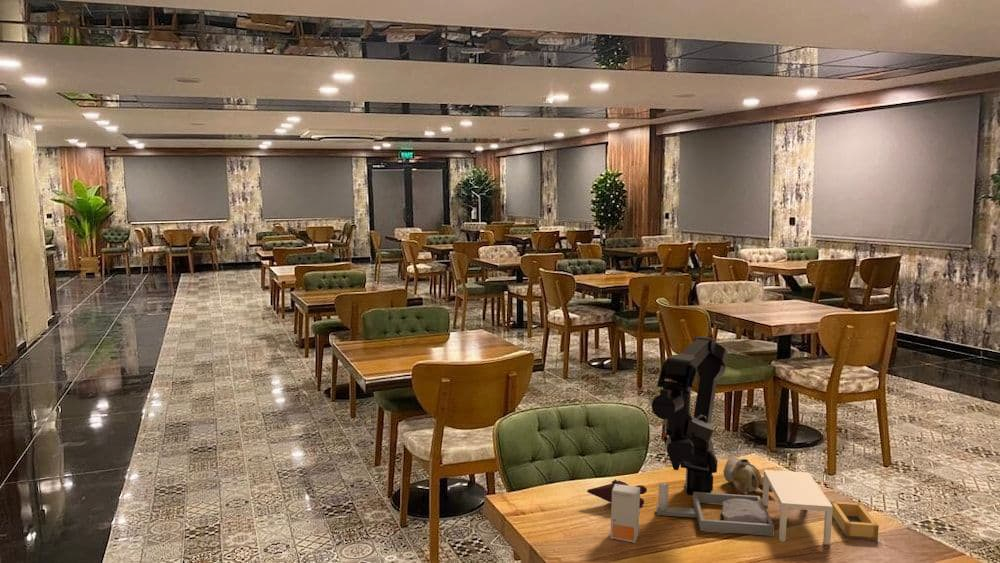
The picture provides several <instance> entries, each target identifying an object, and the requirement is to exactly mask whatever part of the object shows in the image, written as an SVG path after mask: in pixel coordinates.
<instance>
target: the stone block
mask: <svg viewBox="0 0 1000 563" xmlns="http://www.w3.org/2000/svg"><path fill="white" fill-rule="evenodd" d="M721 514H722V517H723V521H735V522H749V523H763V524H767V515H766V512H765V511H764V510H763V509H762V507H761V504H760V501H752V500H746V499H737V498H735V499H731V500H727V501H724V502H723V504H722V509H721Z"/></svg>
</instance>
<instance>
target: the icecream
mask: <svg viewBox="0 0 1000 563" xmlns="http://www.w3.org/2000/svg"><path fill="white" fill-rule="evenodd" d="M615 484H620V485H629V484H628V483H626V482H624V481H622V480H617V479H614V480H612V481H611V483H609V484H604V485H601V486H597V487H593V488H589V489H587V490H586V493H588V494H590V495H593V496H596V497H598V498H599V499H602V500H604V501H607V502H609V503H610V504H611V505H612V490H613V488H614V485H615ZM634 487H640V495H645V493H647V492H648V488H647V487H646V486H645V485H640V484H639V485H638V484H637V485H636V486H634ZM644 504H645V500H644V499H643V497H640V505H639V506H643V505H644Z"/></svg>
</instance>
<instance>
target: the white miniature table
mask: <svg viewBox="0 0 1000 563" xmlns="http://www.w3.org/2000/svg"><path fill="white" fill-rule="evenodd" d="M769 485H770V487H771V489H772V491H773V492H772V493H773V494H774V496H775V498H776V500H777V503H778V504H779V505H780V509H779V512H780V513H779V526H778V527H779V529H778V530H779V531H778V540H779V542H786V538H787V523H788V522H787V518H788V517H787V516H788V509H789V510H790V509H792V510H803V511H805V510H806V511H818V512H819V511H820V512H824V521H823V522H824V524H823V541H822V542H823V544H824V545H829V546H831V539H832V526H833V525H832V524H833V523H832V522H833V519H832V510H833V506H832V505H831V501H830V500H829V499H828V498H827V496H826V494H824V492H823V491H822V489H821V488H820V486H819V485H818V483H817V482H816V480H815V479H814V478H813V476H812V475H811V473H810V472H807V471H806V472H805V471H804V472H803V471H792V470H791V471H789V470H772V469H771V470H769V469H763V491H762V498H761V500H762V502H763V504H764V506H765V507H768V506H769V497H770V496H769V495H770V492H769Z"/></svg>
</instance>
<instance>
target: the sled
mask: <svg viewBox="0 0 1000 563" xmlns="http://www.w3.org/2000/svg"><path fill="white" fill-rule="evenodd" d="M669 487H670V486H669V483H667V482H659V483H658V498H657V500H658V501H657V505H656V506H655V507H656V509H655V511H656V515H657V516H666V517H667V516H668V517H682V518H695V519H696V518H697V519H696V520H697V523H698V526H699V530H700V531H701V532H715V533H727V534H729V533H730V534H741V535H742V534H744V535H756V536H757V535H758V536H767V537H769V536H771V537H774V536H775V534H774V533H775V525H774V523H773V521H772V519H771V516H770V514H769V513H768V511H767V510H768V509H766V506H764V504H763V502H762V498H761V496H760V495H749V494H747V495H741V494H734V493H733V494H731V493H716V492H711V493H705V492H693V494H692V503H693V506H694V508H692V507H680V506H679V507H678V506H677V507H676V506H669ZM735 498H737V499H746V500H752V501H760V504H761V507H762V509H763V510H764V511H765V512H766V515H767V524H763V523H749V522H735V521H724V520H718V519H708V518H707V519H706V518H704V516H703V515H704V514H703V511H702V508H701V504H715V505H723V502H724V501H727V500H731V499H735ZM700 503H701V504H700Z"/></svg>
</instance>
